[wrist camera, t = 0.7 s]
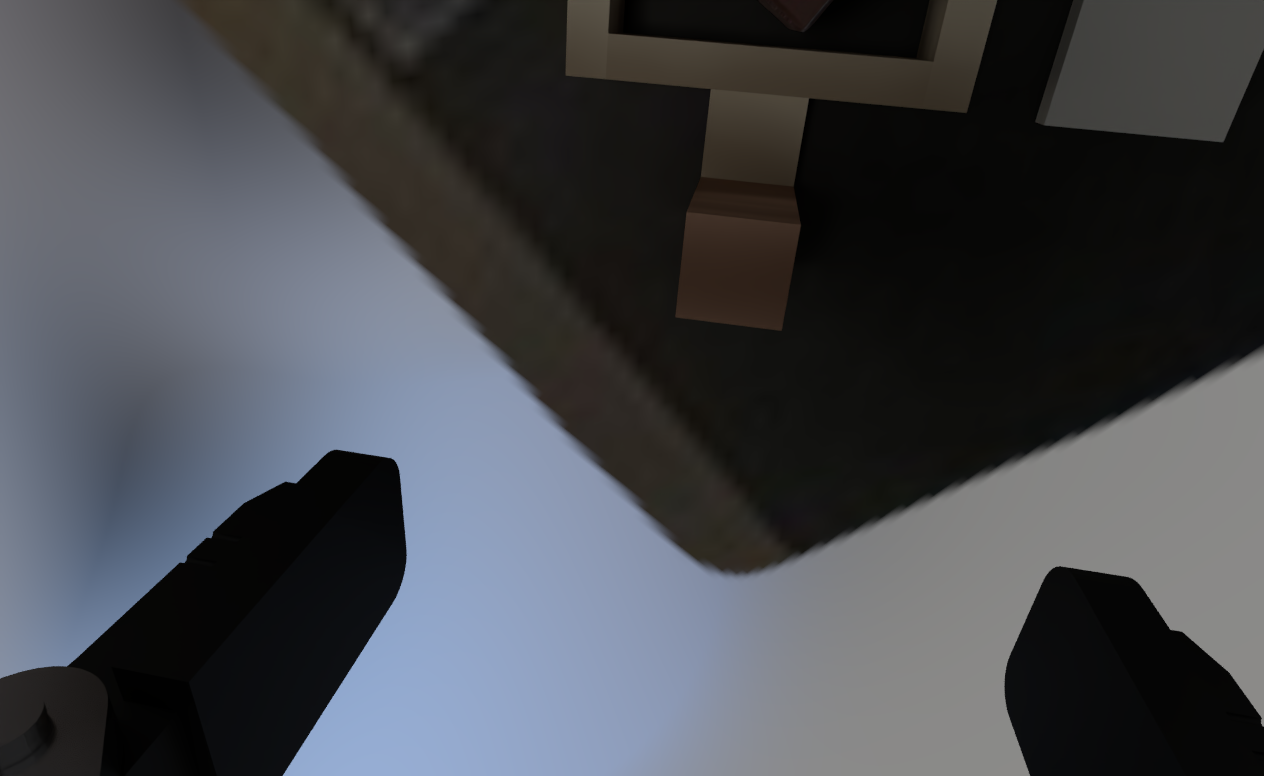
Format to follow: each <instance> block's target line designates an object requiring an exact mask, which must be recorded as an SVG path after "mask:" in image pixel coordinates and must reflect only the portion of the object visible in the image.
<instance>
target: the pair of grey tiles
mask: <svg viewBox="0 0 1264 776" xmlns="http://www.w3.org/2000/svg"><path fill="white" fill-rule="evenodd" d="M1263 49H1264V0H1073V3H1072V6H1071V9H1070V12H1069V15H1068V18H1067V22H1066V25H1065V28H1064V31H1063V34H1062V38H1061V41H1060V44H1059V47H1058V50H1057V53H1056V57H1055V60H1054V63H1053V66H1052V69H1051V73H1050V76H1049V79H1048V82H1047V85H1046V89H1045V92H1044V95H1043V98H1042V101H1041V104H1040V108H1039V111H1038V114H1037V117H1036V120H1035V122H1036V123H1039V124H1042V125H1046V126H1057V127H1068V128H1078V129H1089V130H1099V131H1110V132H1121V133H1131V134H1142V135H1152V136H1163V137H1174V138H1184V139H1195V140H1205V141H1216V142H1223V141H1224V139H1225V137H1226V135H1227V132H1228V130H1229V128H1230V125H1231V123H1232V121H1233V118H1234V116H1235V114H1236V111H1237V109H1238V107H1239V104H1240V102H1241V100H1242V98H1243V95H1244V93H1245V91H1246V88H1247V86H1248V84H1249V81H1250V79H1251V77H1252V74H1253V72H1254V70H1255V68H1256V65H1257V63H1258V61H1259V58H1260V56H1261V54H1262V51H1263Z"/></svg>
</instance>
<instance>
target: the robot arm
mask: <svg viewBox="0 0 1264 776" xmlns="http://www.w3.org/2000/svg"><path fill="white" fill-rule="evenodd" d="M406 556H407V555H406V540H405V529H404V518H403V506H402V495H401V483H400V474H399V469H398V466H397V464H396V462H395V461H394V460H393V459H391V458H386V457H379V456H373V455H366V454H360V453H354V452H348V451H341V450H333V451H330V452H328V453H327V454H326V455H325V456H324V457H323V458H322V459H321V460H320V461H319V462H318V463H317V464H316V465H314V467H312V468H311V469H310V470H309V471H308V472H307V473H306V474H305V475H304V476H303V477H302V478H301V479H300V480H299V481H298V482H297V483H290V482H284V483H282V484H280V485H278V486H276V487H274V488H272V489H270V490H268V491H267V492H265V493H263V494H261V495H259V496H257V497H255V498H253V499H251V500H249V501H247V502H245V503H244V504H243V505H242V506H241V507H239V508H238V509H237V510H236V511H235V512H234V513H233V514H232V515H231V516H230V517H229V518H228V519H227V520H225V521H224V522H223V523H222V524H221V525H220V526H219V527H218V528H217V529H216V530H215V531H214V532H213V536H212V538H206V539H205V540H204V541H203V542H202V543H201V544H200V545H198V546H197V547H196V548H195V549H194V550H193V551H192V552H191V553H190V554H189V555H188V556H187V560H186V562H185V563H179V564H178V565H177V566H176V567H175V568H174V569H172V570H171V571H170V572H169V573H168V574H167V575H166V576H165V577H164V578H163V579H162V580H161V581H160V582H158V583H157V584H156V585H155V586H154V587H153V588H152V589H151V590H150V591H149V592H148V593H147V594H146V595H144V596H143V597H142V598H141V599H140V600H139V601H138V602H137V603H136V604H135V605H134V606H133V607H132V608H130V609H129V610H128V611H127V612H126V613H125V614H124V615H123V616H122V617H121V618H120V619H119V620H117V622H115V623H114V624H113V625H112V626H111V627H110V628H109V629H108V630H107V631H106V632H105V633H103V634H102V635H101V636H100V637H99V638H98V639H97V640H96V641H95V642H94V643H93V644H92V645H91V646H89V647H88V648H87V649H86V650H85V651H84V652H83V653H82V654H81V655H80V656H79V657H78V658H76V659H75V660H74V661H73V662H72V663H71V664H69V665H68V666H67V667H63V666H62V667H61V666H56V667H55V666H53V667H44V668H36V669H32V670H27V671H23V672H19V673H16V674H13V675H10V676H6V677H3V678H1V679H0V776H283V774H284V773H285V771H286V769H287V768H288V766H289V765H290V763H291V762H292V760H293V759H294V757H295V755H296V754H297V752H298V751H299V749H300V747H301V746H302V744H303V743H304V741H305V740H306V738H307V737H308V735H309V733H310V731H311V730H312V729H313V727H314V726H315V724H316V722H317V721H318V719H319V718H320V716H321V715H322V713H323V711H324V710H325V708H326V707H327V705H328V703H329V702H330V700H331V699H332V697H333V696H334V694H335V693H336V691H337V689H338V688H339V686H340V685H341V683H342V681H343V680H344V678H345V677H346V675H347V674H348V672H349V670H350V669H351V667H352V666H353V664H354V663H355V661H356V659H357V658H358V656H359V655H360V653H361V652H362V650H363V649H364V647H365V645H366V644H367V642H368V641H369V639H370V638H371V636H372V634H373V633H374V631H375V630H376V628H377V627H378V625H379V623H380V622H381V620H382V619H383V617H384V616H385V614H386V613H387V611H388V609H389V608H390V606H391V605H392V603H393V601H394V600H395V598H396V596H397V594H398V591H399V589H400V586H401V583H402V580H403V576H404V571H405V565H406ZM1005 699H1006V706H1007V710H1008V714H1009V717H1010V720H1011V723H1012V726H1013V729H1014V731H1015V734H1016V737H1017V740H1018V743H1019V746H1020V748H1021V751H1022V754H1023V757H1024V760H1025V762H1026V765H1027V768H1028V771H1029V774H1030V776H1264V727H1263V726H1262V724H1261V719H1262V718H1261V716H1260V715H1259V714H1258V712H1257V711H1256V709H1255V708H1254V707H1253V705H1252V704H1251V703H1250V701H1249V700H1248V698H1247V697H1246V696H1245V695H1244V693H1243V691H1242V690H1241V689H1240V687H1239V686H1238V684H1237V683H1236V682H1235V680H1234V679H1233V677H1232V676H1231V675H1230V673H1229V672H1228V671H1226V670H1225V669H1224V668H1223V667H1222V666H1221V665H1220V664H1218V663H1217V662H1216V661H1215V660H1214V659H1213V658H1212V657H1210V656H1209V655H1208V654H1207V653H1206V652H1205V651H1203V650H1202V649H1201V648H1200V647H1199V646H1198V645H1197V644H1195V643H1194V642H1193V641H1192V640H1191V639H1190V638H1188V637H1187V636H1186V635H1185V634H1184V633H1183V632H1180V631H1174V630H1170V629H1169V627H1168V626H1167V624H1166V623H1165V621H1164V620H1163V618H1162V617H1161V615H1160V614H1159V612H1158V611H1157V609H1156V608H1155V606H1154V605H1153V603H1152V602H1151V600H1150V599H1149V597H1148V596H1147V594H1146V593H1145V591H1144V590H1143V589H1142V587H1141V586H1140V585H1139V584H1138V583H1137V582H1136V581H1135V580H1133V579H1131V578H1129V577H1124V576H1117V575H1111V574H1105V573H1099V572H1092V571H1086V570H1079V569H1074V568H1067V567H1061V566H1059V567H1055V568H1053V569H1052V570H1051V571H1050V572H1049V573H1048V574H1047V575H1046V577H1045V579H1044V581H1043V583H1042V585H1041V587H1040V589H1039V592H1038V594H1037V596H1036V598H1035V601H1034V603H1033V605H1032V607H1031V610H1030V612H1029V614H1028V616H1027V619H1026V621H1025V623H1024V625H1023V628H1022V630H1021V632H1020V634H1019V637H1018V639H1017V641H1016V643H1015V646H1014V648H1013V650H1012V652H1011V655H1010V657H1009V660H1008V663H1007V667H1006V673H1005Z"/></svg>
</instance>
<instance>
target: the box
mask: <svg viewBox="0 0 1264 776" xmlns="http://www.w3.org/2000/svg"><path fill="white" fill-rule="evenodd" d="M757 1H758V2H759V3H760V4H762V5H763V6H764V7H765V8H766V9H767V10H769V11H770V12H771V13H772V14H773V15H774V16H775V17H776V18H777V19H778V20H780V21H781V22H782V23H783V24H784V25H785V26H786V27H787V28H788V29H790V30H794V31H799V32H804V31H807V30H808V29H809V28H810V27H811V26H812V25H813V24H814V23H815V22H816V20H817V19H818V18H819V17H820V16H821V14H822V13H823V12H824V11H825V10H826V8H827V7H828V6H829V5H830V4H831V3H832V2H833V0H757Z"/></svg>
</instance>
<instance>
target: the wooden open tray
mask: <svg viewBox="0 0 1264 776" xmlns="http://www.w3.org/2000/svg"><path fill="white" fill-rule="evenodd" d="M996 3H997V0H930V1H929V5H928V10H927V14H926V18H925V22H924V27H923V31H922V35H921V40H920V44H919V48H918V52H917V57H916V58H913V57H901V56H889V55H878V54H866V53H854V52H843V51H831V50H820V49H808V48H796V47H785V46H773V45H762V44H750V43H738V42H727V41H715V40H704V39H692V38H680V37H669V36H657V35H646V34H634V33H623V25H624V9H625V0H568V14H567V48H566V75H567V76H577V77H588V78H599V79H610V80H620V81H631V82H642V83H652V84H663V85H674V86H684V87H695V88H706V89H711V93H710V102H709V111H708V120H707V128H706V137H705V146H704V154H703V163H702V172H701V178H700V180H699V183H698V185H697V188H696V190H695V193H694V195H693V198H692V200H691V203H690V205H689V208H688V210H687V215H686V224H685V233H684V242H683V252H682V261H681V270H680V279H679V288H678V298H677V307H676V316H675V317H678V318H686V319H694V320H701V321H709V322H717V323H725V324H732V325H740V326H748V327H756V328H764V329H771V330H779V331H782V325H783V320H784V314H785V309H786V303H787V298H788V293H789V287H790V282H791V276H792V271H793V265H794V260H795V254H796V249H797V244H798V238H799V233H800V227H801V223H800V218H799V212H798V207H797V202H796V197H795V192H794V181H795V176H796V170H797V164H798V158H799V153H800V147H801V141H802V135H803V130H804V124H805V118H806V113H807V107H808V101H809V98H813V99H823V100H834V101H845V102H855V103H866V104H877V105H888V106H898V107H909V108H920V109H930V110H941V111H952V112H962V113H967V110H968V106H969V102H970V99H971V95H972V91H973V88H974V84H975V80H976V77H977V73H978V69H979V66H980V62H981V58H982V54H983V51H984V47H985V43H986V40H987V36H988V32H989V29H990V25H991V21H992V18H993V14H994V10H995V6H996Z"/></svg>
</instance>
